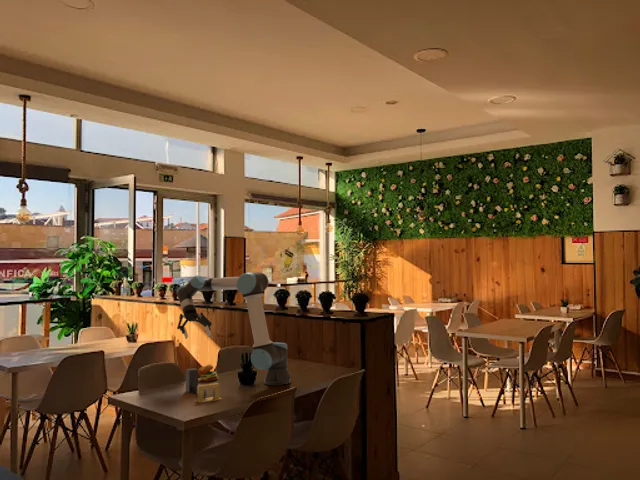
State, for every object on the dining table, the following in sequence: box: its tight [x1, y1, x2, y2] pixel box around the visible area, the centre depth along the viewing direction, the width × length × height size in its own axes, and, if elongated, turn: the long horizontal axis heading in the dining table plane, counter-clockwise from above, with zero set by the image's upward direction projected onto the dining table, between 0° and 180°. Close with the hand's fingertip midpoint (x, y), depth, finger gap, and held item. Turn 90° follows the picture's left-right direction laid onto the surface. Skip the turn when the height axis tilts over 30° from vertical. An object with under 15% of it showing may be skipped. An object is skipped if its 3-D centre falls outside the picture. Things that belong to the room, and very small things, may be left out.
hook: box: [185, 367, 208, 398], centre depth 285 cm, size 5×21×12 cm, turn 35°
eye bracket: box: [194, 382, 223, 404], centre depth 273 cm, size 12×6×8 cm, turn 125°
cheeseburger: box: [198, 364, 219, 382], centre depth 320 cm, size 10×11×10 cm
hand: (198, 336), depth 305 cm, fingers open, 13 cm apart
